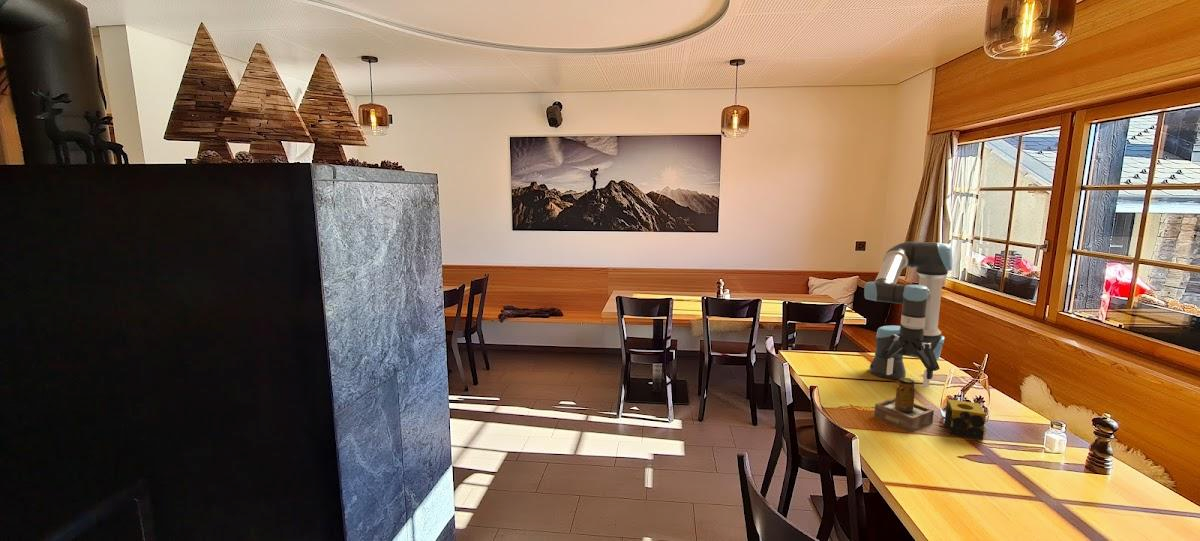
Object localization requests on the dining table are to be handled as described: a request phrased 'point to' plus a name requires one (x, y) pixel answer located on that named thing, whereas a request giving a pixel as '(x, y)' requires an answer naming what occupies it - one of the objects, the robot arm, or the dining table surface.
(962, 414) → the yellow black cube
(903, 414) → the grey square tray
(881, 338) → the robot arm
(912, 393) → the condiment
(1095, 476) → the dining table surface
